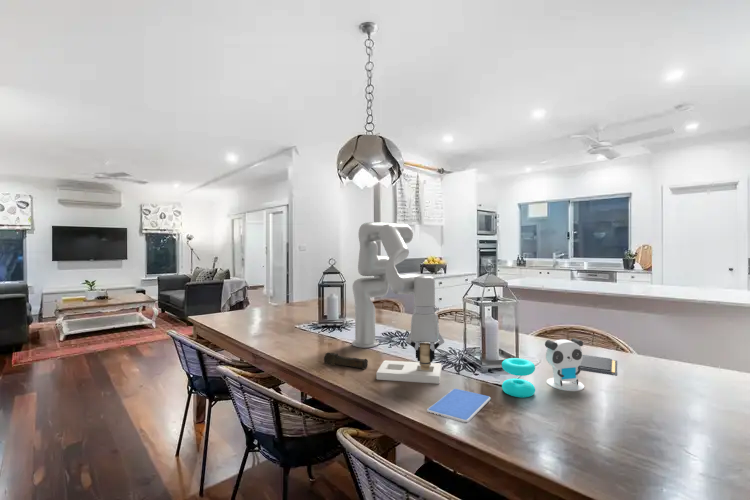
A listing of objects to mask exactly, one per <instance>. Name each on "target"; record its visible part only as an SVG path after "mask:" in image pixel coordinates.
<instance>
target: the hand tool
mask: <svg viewBox="0 0 750 500" xmlns="http://www.w3.org/2000/svg"><path fill="white" fill-rule="evenodd" d="M323 362H324V363H325V364H327V365H330V366H331V365H332V366H337V365H339V366H347V367H351V368H357V369H362V370H363V371H364V370H366V369H367V368H368V366H369V365H368V363H369V361H368V359H367V358H358V357H348V356H342V355H339V353H333V352H327V353H325V355H324V357H323Z"/></svg>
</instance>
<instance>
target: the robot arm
mask: <svg viewBox="0 0 750 500" xmlns="http://www.w3.org/2000/svg"><path fill="white" fill-rule="evenodd" d="M413 236H414V232H413V230H412V227H411V226H410V225H409V224H407V223H398V222H380V221H378V222H377V221H374V222H373V221H372V222H371V221H370V222H365V223H362V224H361V225H360V226H359V229H358V241H359V255H358V264H357V270H358V274H359V275H360V276H362V277H361V278H356V280H354V281H353V283H352V292H353V299H354V327H355V328H354V330H355V333H354V335H355V337H354V338H355V340H353V341H352V342H351V343H352V346H353V347H356V348H365V349H366V348H374V347H377V346H379V344H380V343H379V340H378V339H376V306H375V304H374V303H373V301H372V300H371V298H380V297H384V296H387V294H388V292H389V290H390V289H391V291H392V293H394V294H395V295H398V296H403V295H413V312H412V314H411V320H410V332H409V334H408V336H407V338H406V339H405V342H407V343H408V344H409V345H411V347H412V348H413V349H414V351H415V359H417V361H416V362H419V361H420V350H419V344H420V343H430V345H431V350H430V362H431V363H433V360H435V358H436V357H435V351H436V350H437V348H438V347H440V346H441V345H443V344H444V343H445V339H444V338H443V336H442V334H441V333H440V322H439V316H438V313H437V312H439V311H440V307H439V306H436V287H435V286H436V285H435V284H436V283H435V281H436V280H435V278H434V276H431V275H425V274H422V273H407V274H399V272H398V270H397V268H396V266H397V265H398V264H400V263H402V262H403V261H405V260H406V259H407V258H408V256H410V255H409V254H410V250H409V248H408V246H407V244H409V243H410V242H411V241H412V240H413V239H414V238H413ZM377 242H381V244H382V246H383V248H384V250H385V252H386V255H387V256H386V255H380V254H379V246H378V243H377ZM378 254H379V255H378ZM389 288H390V289H389Z"/></svg>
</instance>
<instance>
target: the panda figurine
mask: <svg viewBox="0 0 750 500" xmlns="http://www.w3.org/2000/svg"><path fill="white" fill-rule="evenodd" d="M544 345H545V348H547V349H546V352H545V359H546V361H547V363H548V364H549V365H550V366H552V377H549V378H548V379H546V384H547V385H548V386H549V387H552V388H553V389H557V390H561V391H566V392H567V391H568V392H580V391H583V390H584V389H585V385H584V384H583V383H582V382H581V381H579V374H580V373H581V371H582V370H581V369H580V367H578V366H579V365H580V364H581V362H582V358H583V355H584V353H583V351H582V347H583V346H584V342H583V341H582V340H580V339H577V338H574V337H572V338H571V339H570V340H569V339H557V340H554V341H553V340H550V339H547V340H546V341H545V343H544Z"/></svg>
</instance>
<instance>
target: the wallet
mask: <svg viewBox="0 0 750 500" xmlns="http://www.w3.org/2000/svg"><path fill="white" fill-rule="evenodd" d="M578 367H580V369H581V371H582V372H590V373H597V374H602V375H603V374H604V375H609V376H615V377H616V376H618V360H615V359H612V358H611V357H610V358H609V357H601V356H596V355H595V356H593V355H587V354H583V358H582V362H581V364H580V365H579V366H578Z"/></svg>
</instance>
